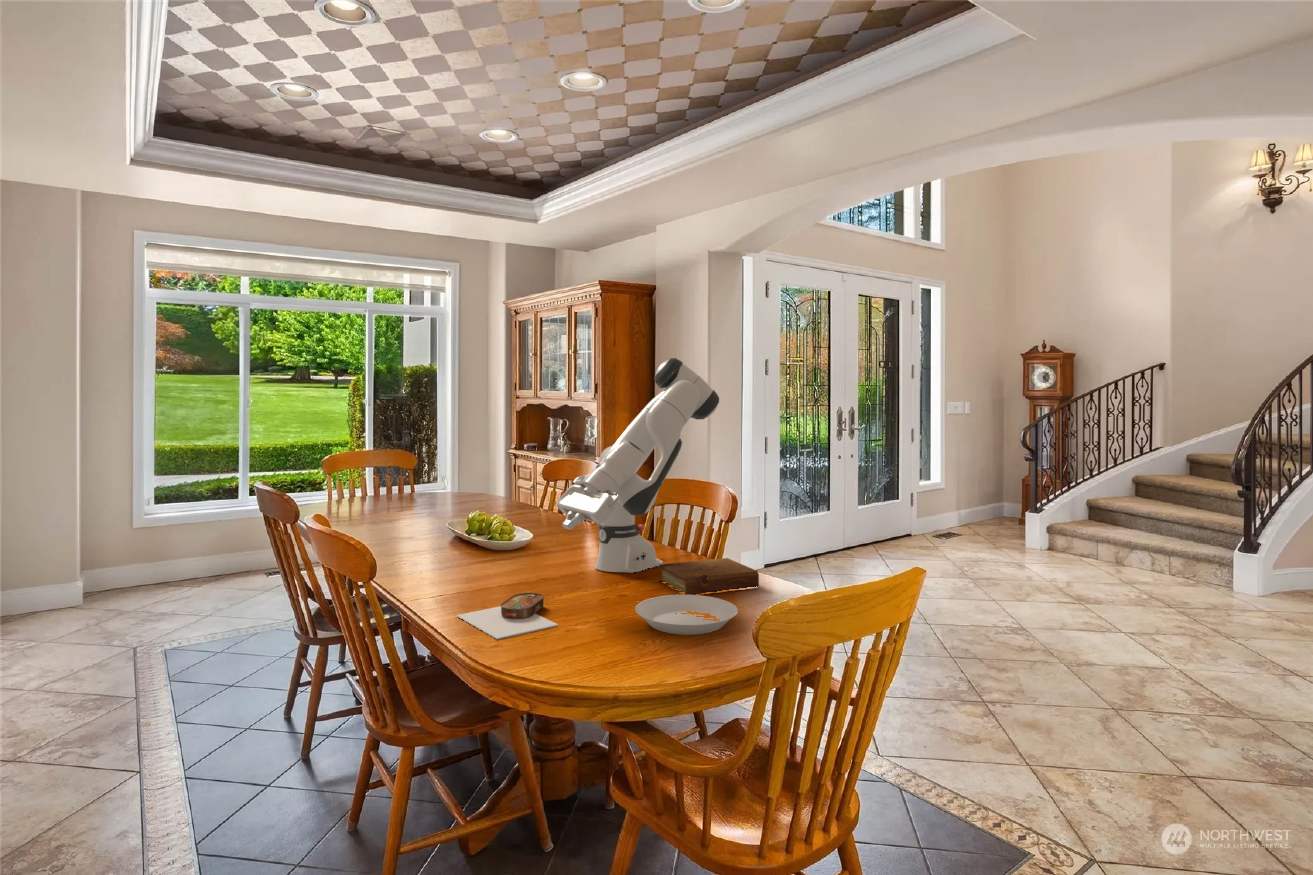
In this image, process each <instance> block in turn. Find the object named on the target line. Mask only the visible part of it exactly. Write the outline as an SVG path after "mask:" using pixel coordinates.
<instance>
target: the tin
mask: <svg viewBox="0 0 1313 875" xmlns="http://www.w3.org/2000/svg"><path fill="white" fill-rule="evenodd" d="M544 598H545V597H544V595H543V594H540V593H535V592H524V593H518V594H514V595H512V596H511V597H509V598H507V599H506V600H505V601H504V602H502V603H501V604H500V606H501V615H502V616H503V617H510V618H526V617H530V616H532V615H533V614H537V612H538V611H539V610H541V609H542V608H543V607H544Z"/></svg>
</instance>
